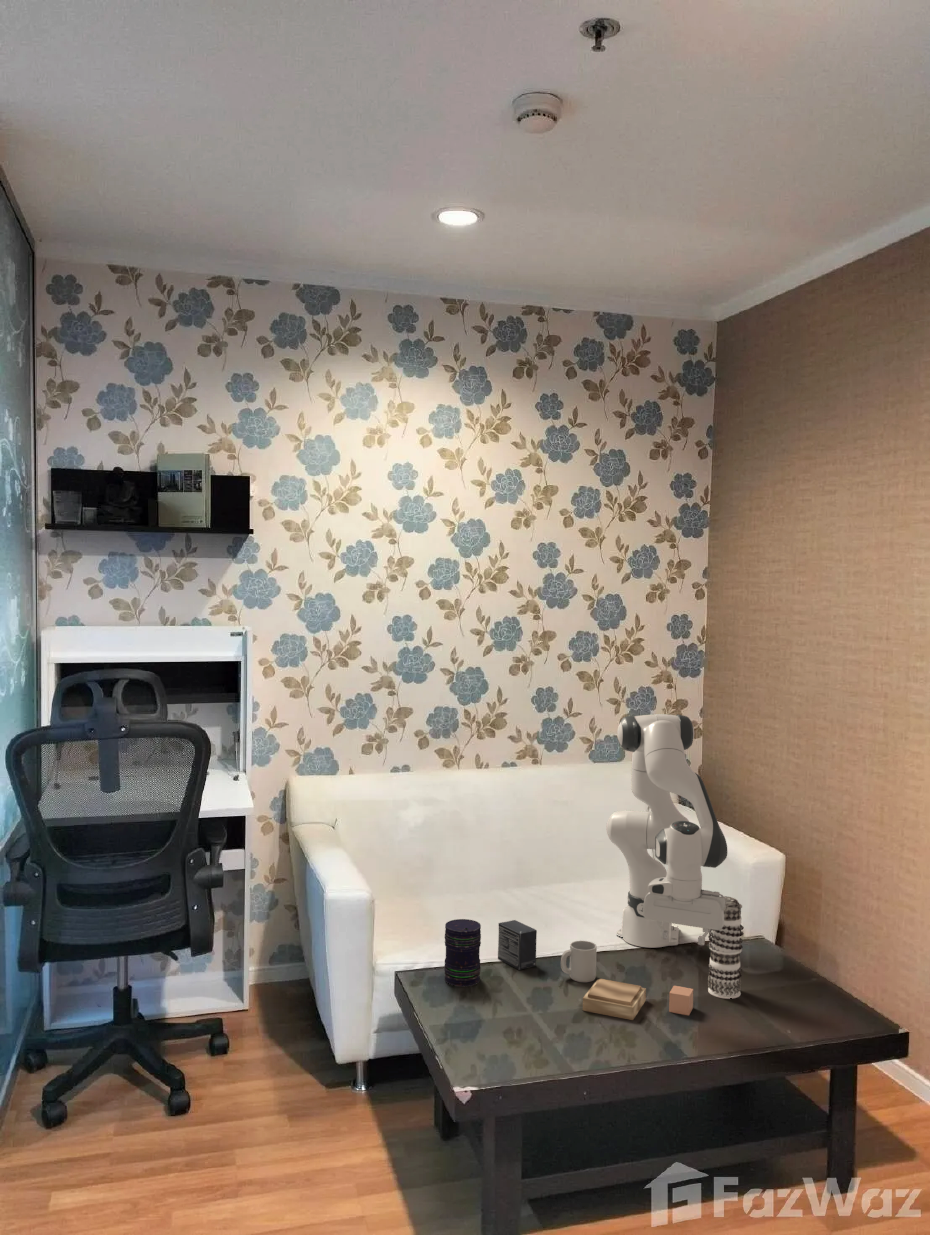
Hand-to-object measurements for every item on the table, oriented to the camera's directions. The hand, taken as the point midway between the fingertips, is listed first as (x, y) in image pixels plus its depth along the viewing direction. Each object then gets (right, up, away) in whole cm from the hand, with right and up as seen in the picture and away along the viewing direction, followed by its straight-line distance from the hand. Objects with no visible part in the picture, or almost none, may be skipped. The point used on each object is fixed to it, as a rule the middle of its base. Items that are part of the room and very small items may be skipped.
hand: (682, 941), depth 255 cm
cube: (0, -18, +1) cm, 18 cm away
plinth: (-17, -17, +3) cm, 24 cm away
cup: (-24, -17, +20) cm, 36 cm away
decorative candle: (+14, -18, +12) cm, 25 cm away
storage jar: (-56, -16, +18) cm, 61 cm away
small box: (-40, -16, +31) cm, 53 cm away
